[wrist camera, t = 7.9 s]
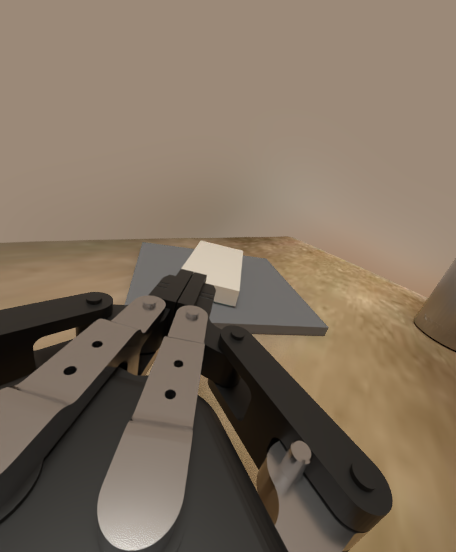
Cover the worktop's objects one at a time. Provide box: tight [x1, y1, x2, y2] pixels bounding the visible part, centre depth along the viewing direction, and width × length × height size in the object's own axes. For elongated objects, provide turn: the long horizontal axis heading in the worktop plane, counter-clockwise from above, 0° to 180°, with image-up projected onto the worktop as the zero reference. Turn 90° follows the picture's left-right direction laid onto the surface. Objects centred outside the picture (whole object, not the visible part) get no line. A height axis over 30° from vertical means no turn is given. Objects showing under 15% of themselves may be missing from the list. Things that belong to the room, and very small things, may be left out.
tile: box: [181, 241, 243, 307], centre depth 32 cm, size 2×7×14 cm
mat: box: [125, 242, 328, 336], centre depth 33 cm, size 22×20×1 cm
